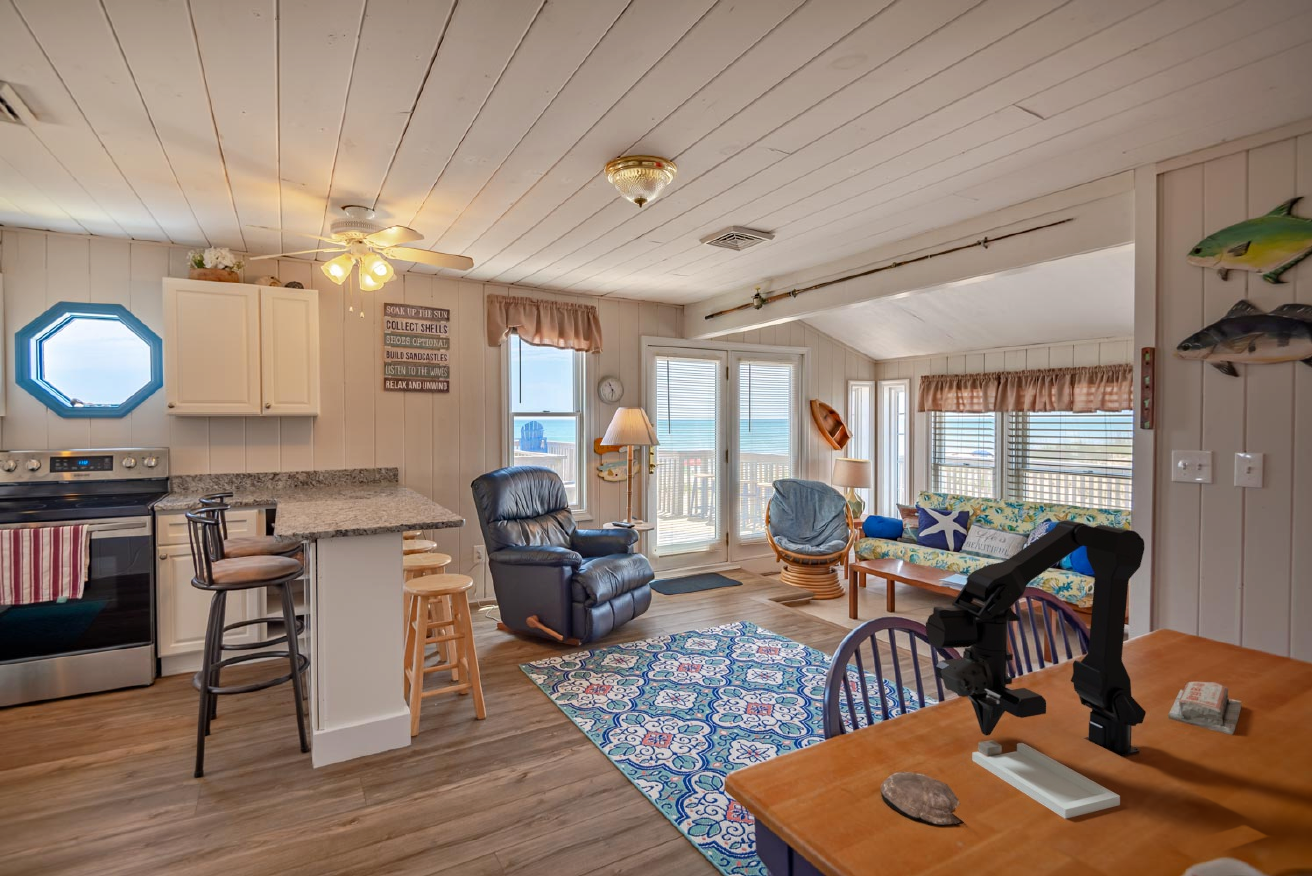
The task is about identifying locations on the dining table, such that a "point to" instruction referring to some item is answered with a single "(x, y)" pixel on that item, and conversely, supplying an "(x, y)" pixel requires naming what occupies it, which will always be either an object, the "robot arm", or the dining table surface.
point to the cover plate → (990, 748)
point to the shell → (921, 798)
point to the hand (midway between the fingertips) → (986, 734)
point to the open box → (1048, 781)
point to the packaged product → (1206, 707)
